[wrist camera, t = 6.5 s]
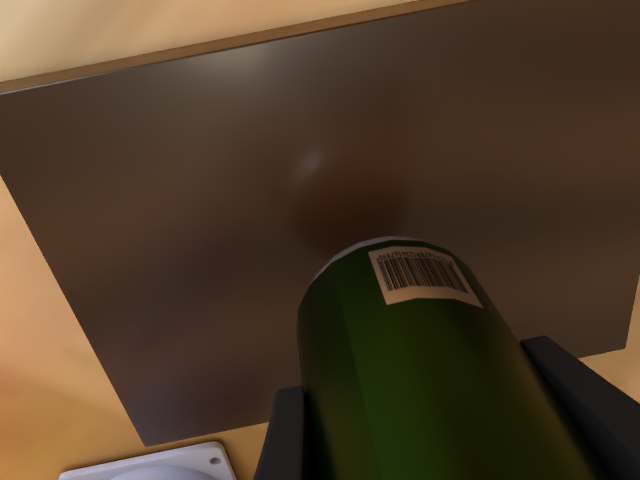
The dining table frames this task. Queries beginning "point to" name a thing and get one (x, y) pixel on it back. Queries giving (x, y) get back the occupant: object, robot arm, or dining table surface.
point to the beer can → (424, 376)
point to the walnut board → (330, 185)
